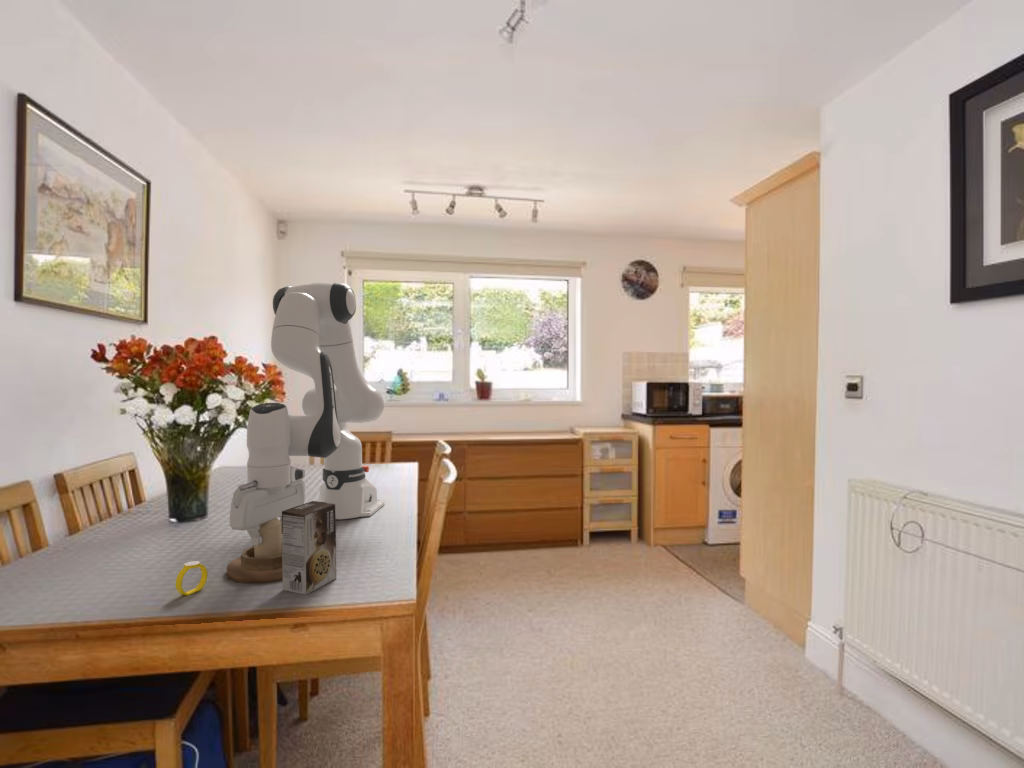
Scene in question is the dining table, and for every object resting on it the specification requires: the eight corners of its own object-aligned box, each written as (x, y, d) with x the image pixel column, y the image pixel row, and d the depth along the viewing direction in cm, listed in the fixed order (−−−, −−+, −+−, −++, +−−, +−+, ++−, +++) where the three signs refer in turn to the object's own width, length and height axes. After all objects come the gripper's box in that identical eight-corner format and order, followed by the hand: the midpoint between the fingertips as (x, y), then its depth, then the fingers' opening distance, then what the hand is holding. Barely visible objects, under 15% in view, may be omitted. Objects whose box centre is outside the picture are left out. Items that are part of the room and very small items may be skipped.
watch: (199, 587, 109) (201, 558, 109) (209, 589, 108) (211, 559, 108) (172, 597, 103) (173, 565, 104) (182, 599, 103) (184, 567, 103)
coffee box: (313, 574, 115) (312, 500, 115) (337, 578, 113) (337, 503, 113) (280, 590, 107) (280, 510, 107) (306, 595, 105) (305, 513, 104)
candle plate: (264, 552, 129) (263, 535, 129) (326, 558, 125) (325, 541, 125) (207, 578, 113) (207, 559, 113) (277, 587, 109) (276, 567, 109)
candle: (249, 565, 116) (248, 520, 116) (264, 556, 122) (264, 513, 121) (271, 567, 115) (271, 521, 115) (286, 558, 121) (286, 514, 120)
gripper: (247, 487, 108) (247, 555, 108) (309, 469, 127) (310, 526, 128) (221, 485, 109) (221, 553, 110) (286, 468, 129) (287, 524, 129)
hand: (269, 538), depth 119 cm, fingers open, 7 cm apart
